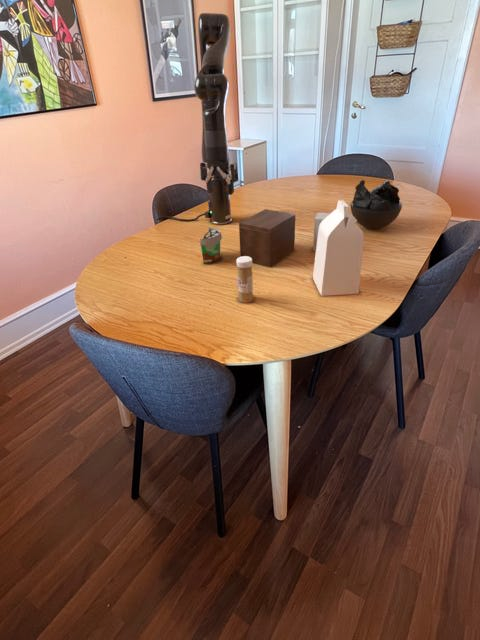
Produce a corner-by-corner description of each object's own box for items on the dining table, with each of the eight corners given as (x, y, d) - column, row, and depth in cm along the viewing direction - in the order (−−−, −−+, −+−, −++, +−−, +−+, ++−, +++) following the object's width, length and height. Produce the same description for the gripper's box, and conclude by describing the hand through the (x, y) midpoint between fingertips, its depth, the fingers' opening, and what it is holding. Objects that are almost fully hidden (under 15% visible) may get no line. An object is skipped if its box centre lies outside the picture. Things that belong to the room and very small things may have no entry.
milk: (312, 277, 126) (318, 198, 111) (347, 275, 126) (356, 196, 112) (321, 295, 116) (328, 211, 101) (358, 293, 116) (370, 208, 102)
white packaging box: (334, 245, 147) (337, 213, 140) (332, 252, 142) (335, 219, 135) (315, 243, 150) (317, 211, 143) (312, 251, 144) (314, 218, 137)
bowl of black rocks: (408, 228, 158) (417, 181, 148) (374, 240, 150) (382, 191, 139) (370, 216, 173) (376, 173, 162) (338, 226, 164) (342, 181, 154)
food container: (219, 266, 136) (216, 240, 131) (202, 265, 137) (199, 239, 132) (226, 252, 146) (225, 227, 141) (211, 252, 147) (209, 227, 142)
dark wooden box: (240, 259, 140) (238, 222, 133) (265, 243, 152) (265, 209, 144) (270, 267, 134) (270, 229, 126) (294, 250, 145) (295, 214, 137)
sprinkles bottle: (235, 300, 116) (233, 259, 109) (245, 294, 119) (243, 254, 111) (247, 304, 114) (245, 263, 106) (256, 298, 116) (255, 257, 109)
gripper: (240, 143, 127) (242, 192, 136) (205, 142, 134) (210, 189, 143) (228, 146, 122) (231, 198, 131) (192, 145, 129) (198, 194, 137)
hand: (220, 193), depth 137 cm, fingers open, 8 cm apart
